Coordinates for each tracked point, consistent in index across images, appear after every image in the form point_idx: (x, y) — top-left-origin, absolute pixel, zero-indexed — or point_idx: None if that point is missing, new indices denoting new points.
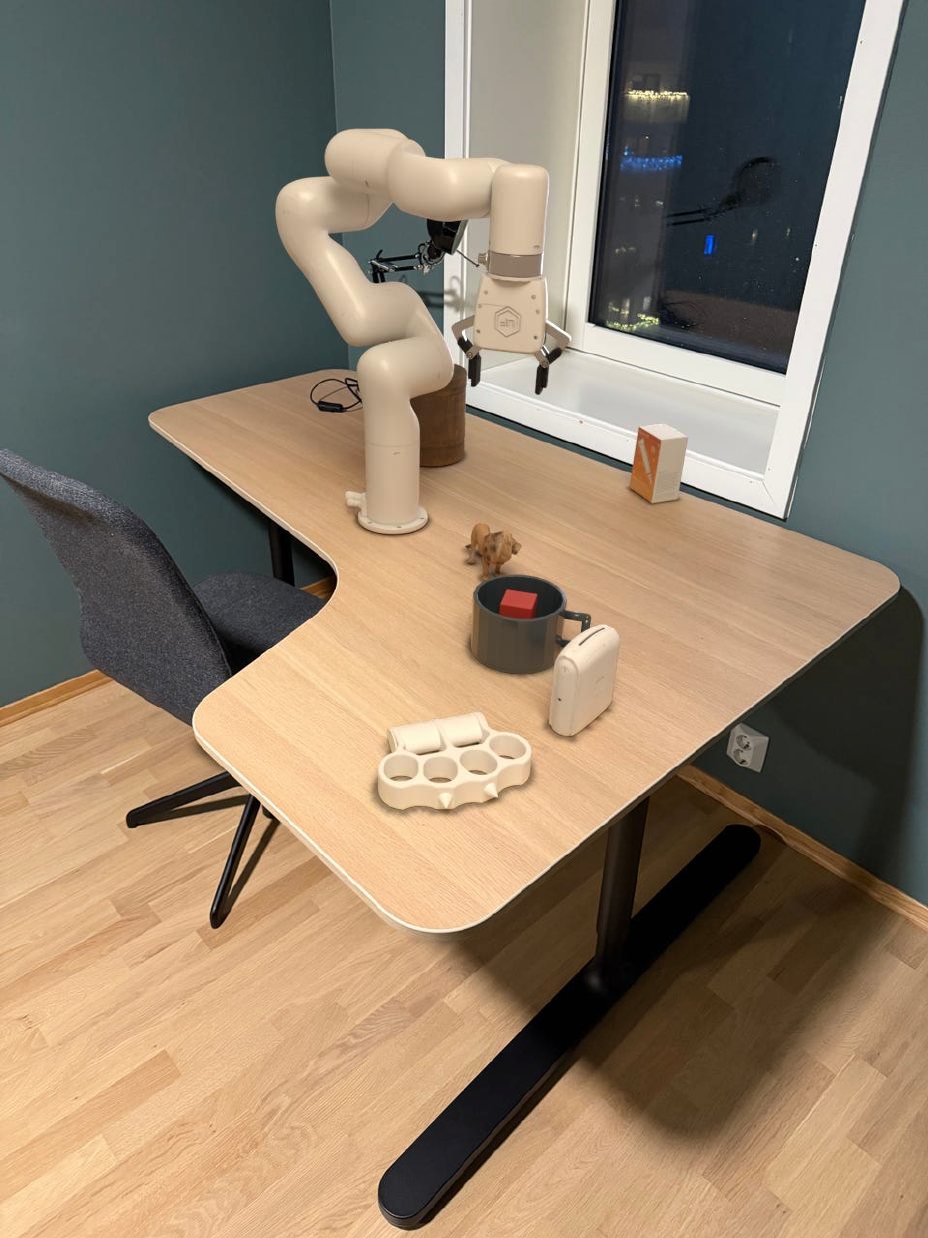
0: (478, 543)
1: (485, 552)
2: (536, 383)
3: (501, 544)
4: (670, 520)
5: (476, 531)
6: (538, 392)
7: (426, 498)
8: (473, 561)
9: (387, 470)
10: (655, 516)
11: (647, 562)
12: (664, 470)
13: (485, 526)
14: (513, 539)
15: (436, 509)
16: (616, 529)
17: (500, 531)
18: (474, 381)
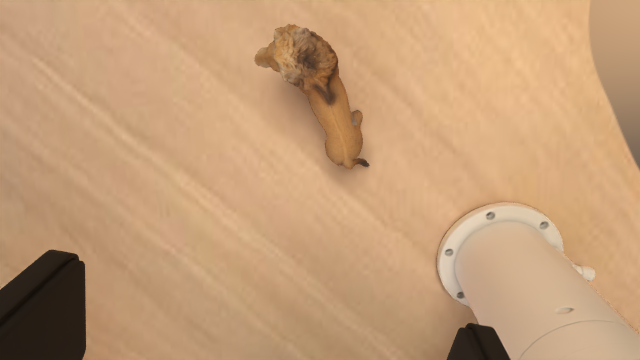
0: (347, 97)
1: (331, 49)
2: (34, 296)
3: (296, 30)
4: None
5: (353, 129)
6: (52, 254)
7: (437, 335)
8: (352, 112)
9: (566, 282)
10: None
11: (49, 157)
12: None
13: (335, 141)
14: (271, 56)
15: (420, 300)
16: (115, 266)
17: (300, 69)
18: (479, 345)
